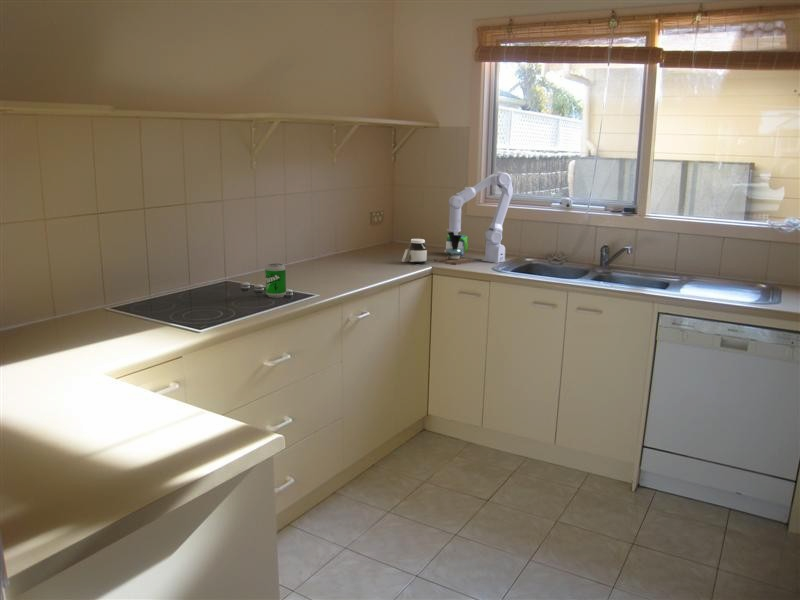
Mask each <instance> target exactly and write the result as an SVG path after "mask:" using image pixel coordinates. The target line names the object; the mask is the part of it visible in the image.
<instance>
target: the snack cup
mask: <svg viewBox="0 0 800 600" xmlns="http://www.w3.org/2000/svg"><path fill="white" fill-rule="evenodd" d="M460 235H461V238H460V240H459V242H463V247H462V254H461V255H462V256H464V254H465V252H467V251H468V250H469V244H468V239H469V238H468V236H467V235H464V234H460ZM446 241H450V237H449V234H448V235H447V236H446ZM461 255H460V257H461Z"/></svg>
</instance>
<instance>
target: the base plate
mask: <svg viewBox="0 0 800 600" xmlns="http://www.w3.org/2000/svg"><path fill="white" fill-rule="evenodd" d="M436 261H439V262H438V263H442V262H445V263H444V264H448V263H451V264H450V265H453V264H458V265H462V264H461V263H463V264H467V262H469V263H472V262H473V263H474V259H473V258H465V257H461V256H460V255H448V254H447V256H443V257H438V258H433V262H436Z"/></svg>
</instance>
